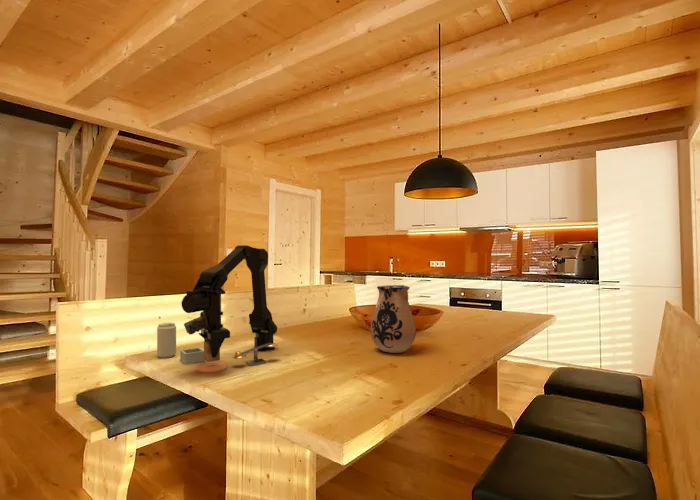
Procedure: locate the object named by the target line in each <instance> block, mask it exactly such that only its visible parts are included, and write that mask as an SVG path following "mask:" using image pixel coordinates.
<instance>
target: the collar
mask: <svg viewBox="0 0 700 500" xmlns="http://www.w3.org/2000/svg"><path fill="white" fill-rule="evenodd" d="M179 353H180V357H179V361H180V362H182V363H183V364H184V365H191V364H199V363H201V362H206V361H205V360H204V349H203V348H201V347H192V348H186V349H185V348H184V349H180V352H179Z"/></svg>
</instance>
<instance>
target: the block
mask: <svg viewBox="0 0 700 500" xmlns="http://www.w3.org/2000/svg"><path fill="white" fill-rule="evenodd" d="M203 350H204V360H205V362H206V361H207V362H211V361H218V360H220V361H221V348H220V349H219V351H218V354H217V356H216V357H215V358H213V357H212V354H211V347H210V342H209V341H203Z"/></svg>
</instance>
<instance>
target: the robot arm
mask: <svg viewBox="0 0 700 500" xmlns="http://www.w3.org/2000/svg"><path fill="white" fill-rule="evenodd" d="M244 260H245V264H246V266H247V268H248V270H249V271H250V273H251V276H250V277H251V288H252V299H253V300H252V301H253V310H252V311H251V312H250V313H249V314H248V321H249V322H248V325H250V329H251V333H252V334H255V336H254V340H253V341H254V344H253V345H254V346H253V348H255V347H258V346H261V345H263V344H266V343H274V335H275V334H277V332H278V326H277V325H276V324H275V321H274V320H273V316H272V312H271V311H270V309H269V308H268V307H267V305H268V304H267V292H266V291H267V290H266V277H265V276H266V275H265V274H266V273H265V270H266V269H267V266H268V265H269V253H268V251H267V250H266V249H265V248H257V247H252V246H250V245H248V244H247V245H246V244H244V245H240V244H239V245H237V246H235V247H234V249H233V250H232V251H231V252H229V253H228V255H226V256H225V257H224V258H223V259H222V260H221V261H220V262H219V263H218V264H216V265H214V266H210V267H208V268H207V269H205V270H203V271H202V272H201V273H200V275H199V278H198V280H197V281H196V282H195V283H196V284H195V285H194V287H193V289H192V290H186V295H184V296H183V298H182V301H181V308H182V310H183V311H184V313H187V314H192V313H197V312H200V313H199V316H198V317H196V318H194V319H192V320H191V319H190V320H189V321H186V322H185V323H183V326H184V329H185V331H186V334H189V335H194V334H195V333H196V332H197V333H198V335H199V336H200V337H202V339H203V340H204V341H209V342H210V347H211V354H212V357H213V358H215V357H216V356H217V354H218V351H219V349H220V350H221V347H222V345H223V343H224V341H225V339H229V338H231V331H230V330H229V329H228V328H226V327H224V324H223V323H222V316H223V315H224V311H222V295H225V294H226V291H225V290H224V289H223V288H222V287H223V286H224V285H225V284H226V283H227V281H228V278H229V274H230V273H231V272H232V271H234V269H235V268H236V267H237V266H238V265H239V264H241V263H242V261H244ZM204 341H203V342H204ZM274 349H276V347H266V346H265V347H262V348H259V349H258V351H260V352H261V351H269V350H274Z"/></svg>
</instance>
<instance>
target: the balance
mask: <svg viewBox="0 0 700 500" xmlns="http://www.w3.org/2000/svg"><path fill="white" fill-rule="evenodd" d="M265 346H266V347H275V348H276V347H278V346H279V345H278V343H274V342H273V343H266V344H263V345H261V346H258V347H255V348H254V347H252V348H250V349H248V350H244V351H242V352H241V351H235V352H234V355H233V356H232V359H235V360H242V359H245V358H247V355H246V354H249V353H250V352H251V353H252V352H253V359H250V360H245V361H244V362H245V363H244V364H245V365H247V366H249V367H253V366H258V365H264V364H267V360H266V359H264V358H258V354H259V353H258V351H259V350H258V349H259V348H262V347H265Z"/></svg>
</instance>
